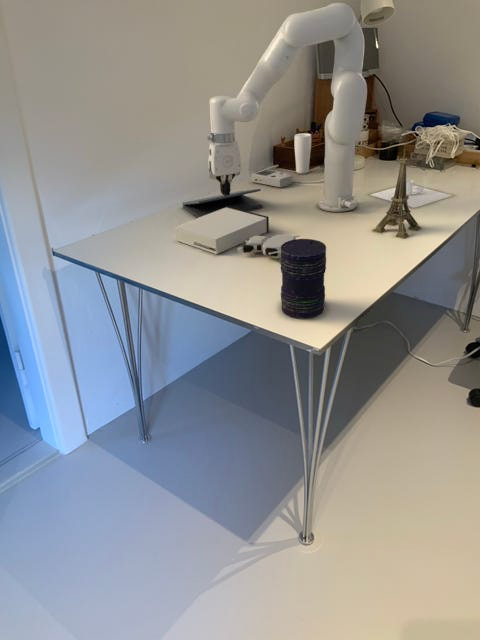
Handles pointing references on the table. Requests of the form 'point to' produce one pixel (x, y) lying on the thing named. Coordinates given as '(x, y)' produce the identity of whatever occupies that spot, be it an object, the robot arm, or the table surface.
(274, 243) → the robot toy
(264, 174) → the handheld gaming device
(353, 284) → the table surface
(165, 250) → the table surface
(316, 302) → the dark blue cylinder
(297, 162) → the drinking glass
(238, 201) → the dark grey flat slab
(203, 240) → the disc drive
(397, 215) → the eiffel tower
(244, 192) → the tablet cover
